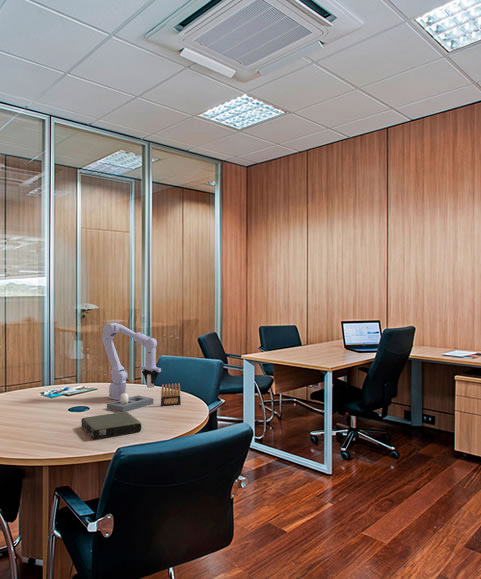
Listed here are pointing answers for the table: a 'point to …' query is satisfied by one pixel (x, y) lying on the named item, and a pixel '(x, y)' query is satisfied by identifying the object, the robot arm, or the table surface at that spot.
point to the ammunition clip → (170, 395)
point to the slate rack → (129, 403)
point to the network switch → (110, 425)
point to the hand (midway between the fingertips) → (150, 383)
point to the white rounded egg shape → (149, 381)
